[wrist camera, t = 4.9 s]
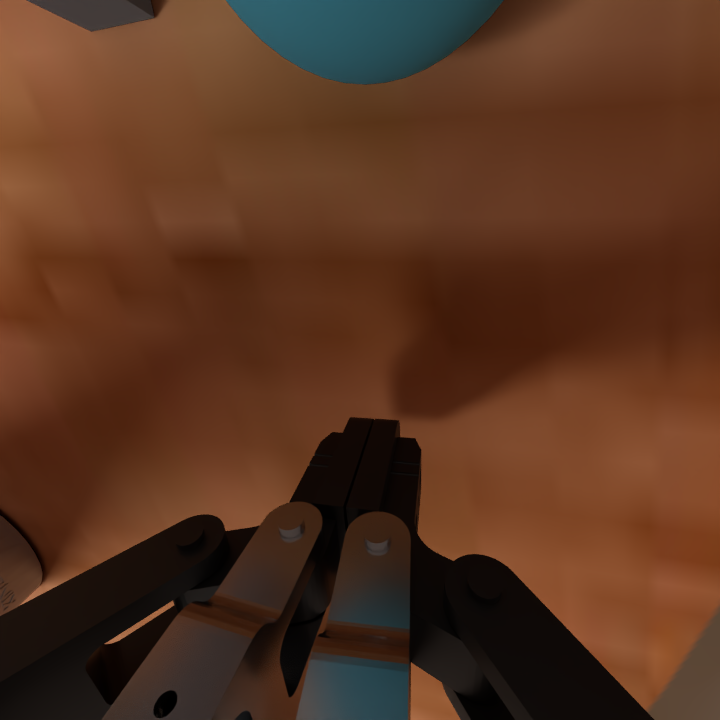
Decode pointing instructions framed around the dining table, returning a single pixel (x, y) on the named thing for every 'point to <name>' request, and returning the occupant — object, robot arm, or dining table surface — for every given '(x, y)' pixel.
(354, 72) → the ball
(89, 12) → the bridge
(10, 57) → the dining table surface
